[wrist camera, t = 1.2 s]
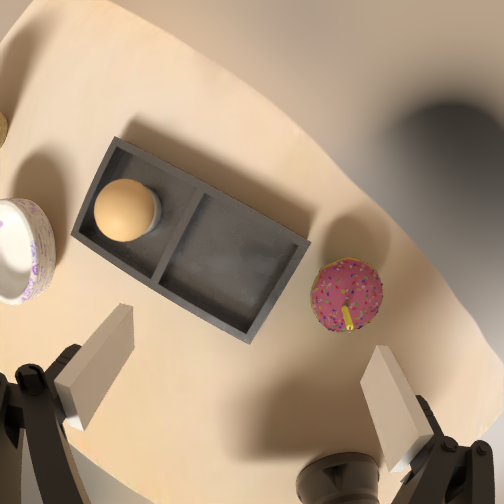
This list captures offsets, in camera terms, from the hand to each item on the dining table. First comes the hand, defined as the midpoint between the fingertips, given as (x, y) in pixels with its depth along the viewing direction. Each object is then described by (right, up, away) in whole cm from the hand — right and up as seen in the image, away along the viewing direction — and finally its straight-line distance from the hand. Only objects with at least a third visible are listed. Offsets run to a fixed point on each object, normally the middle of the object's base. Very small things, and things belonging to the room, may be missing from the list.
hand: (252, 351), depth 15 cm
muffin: (-14, +10, +22) cm, 28 cm away
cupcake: (+11, +1, +23) cm, 25 cm away
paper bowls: (-34, +6, +24) cm, 43 cm away
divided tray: (-9, +7, +22) cm, 25 cm away
